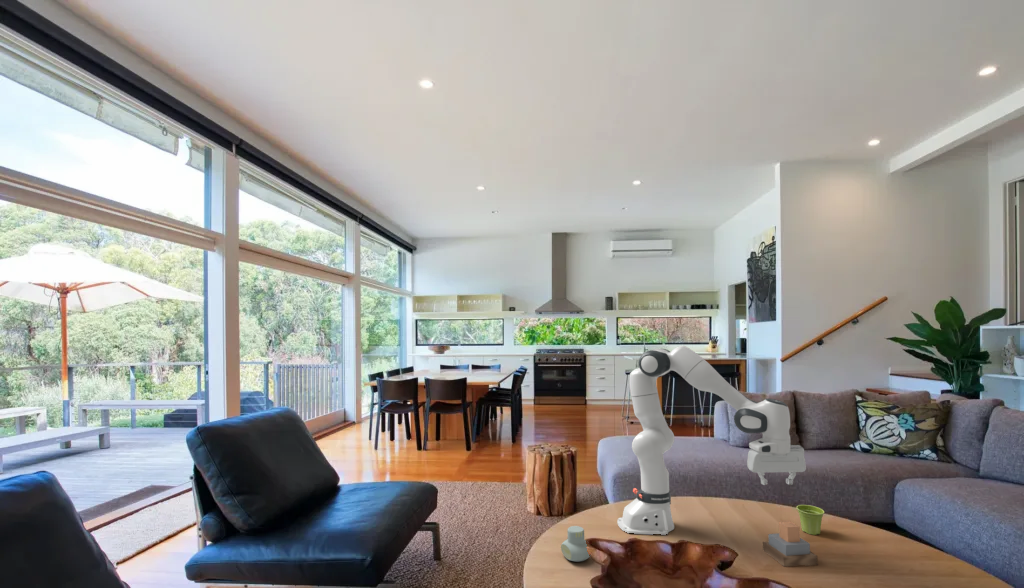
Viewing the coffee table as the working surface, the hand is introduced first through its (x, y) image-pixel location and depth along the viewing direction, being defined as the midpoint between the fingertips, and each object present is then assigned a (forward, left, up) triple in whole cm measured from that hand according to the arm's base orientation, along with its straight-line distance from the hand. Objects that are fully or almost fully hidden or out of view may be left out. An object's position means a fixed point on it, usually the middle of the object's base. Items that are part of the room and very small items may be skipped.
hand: (776, 484), depth 176 cm
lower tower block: (+2, -3, -25) cm, 25 cm away
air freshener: (-72, +4, -25) cm, 77 cm away
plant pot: (+24, +16, -25) cm, 38 cm away
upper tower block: (+2, -3, -21) cm, 22 cm away
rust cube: (+2, -3, -18) cm, 18 cm away
